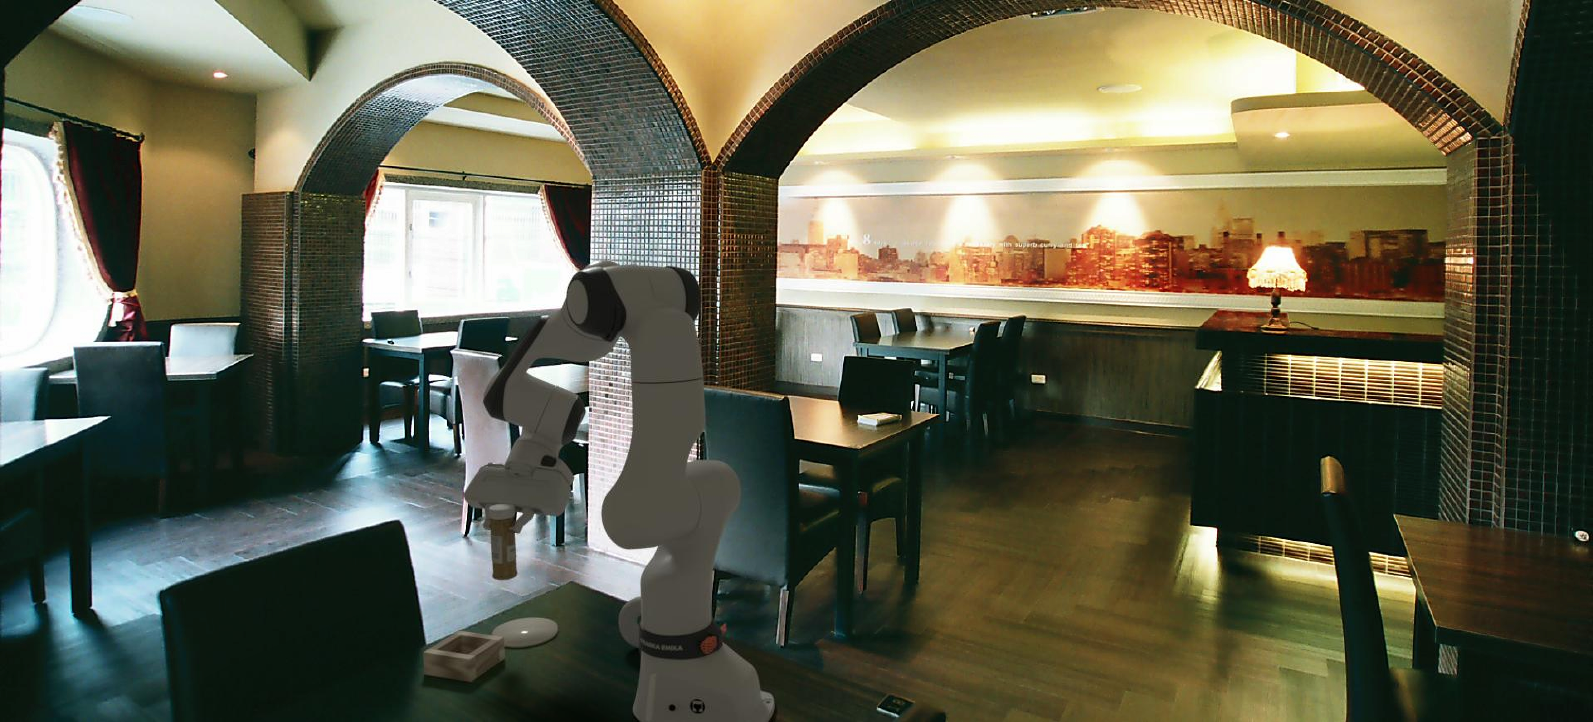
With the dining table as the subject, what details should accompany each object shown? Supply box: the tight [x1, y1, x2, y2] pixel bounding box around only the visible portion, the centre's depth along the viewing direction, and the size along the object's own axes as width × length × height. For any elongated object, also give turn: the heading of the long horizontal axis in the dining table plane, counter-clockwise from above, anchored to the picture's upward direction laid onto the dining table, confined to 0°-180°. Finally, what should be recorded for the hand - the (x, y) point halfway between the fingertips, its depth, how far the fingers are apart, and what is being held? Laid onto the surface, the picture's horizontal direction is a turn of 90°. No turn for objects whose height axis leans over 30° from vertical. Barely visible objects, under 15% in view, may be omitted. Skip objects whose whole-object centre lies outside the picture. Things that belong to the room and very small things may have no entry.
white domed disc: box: [491, 617, 559, 648], centre depth 174 cm, size 12×12×1 cm
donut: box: [617, 595, 641, 649], centre depth 167 cm, size 10×4×10 cm, turn 82°
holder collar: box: [422, 630, 506, 683], centre depth 160 cm, size 10×10×4 cm
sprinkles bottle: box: [489, 504, 518, 581], centre depth 168 cm, size 5×5×14 cm
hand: (500, 530), depth 167 cm, fingers closed on sprinkles bottle, 4 cm apart
